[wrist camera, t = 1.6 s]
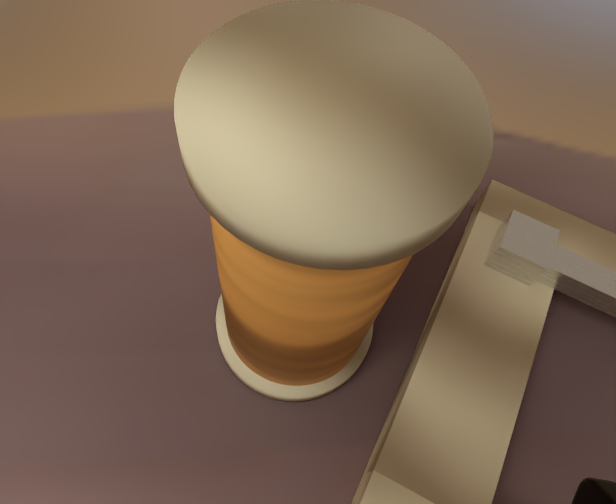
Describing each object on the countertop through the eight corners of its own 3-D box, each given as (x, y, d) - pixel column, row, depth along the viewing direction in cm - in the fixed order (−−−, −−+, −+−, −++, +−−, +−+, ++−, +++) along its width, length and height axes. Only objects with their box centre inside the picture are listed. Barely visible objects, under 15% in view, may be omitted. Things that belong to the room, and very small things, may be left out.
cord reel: (328, 431, 20) (429, 307, 8) (187, 354, 21) (103, 147, 9) (391, 297, 23) (529, 69, 11) (264, 235, 24) (273, -36, 12)
